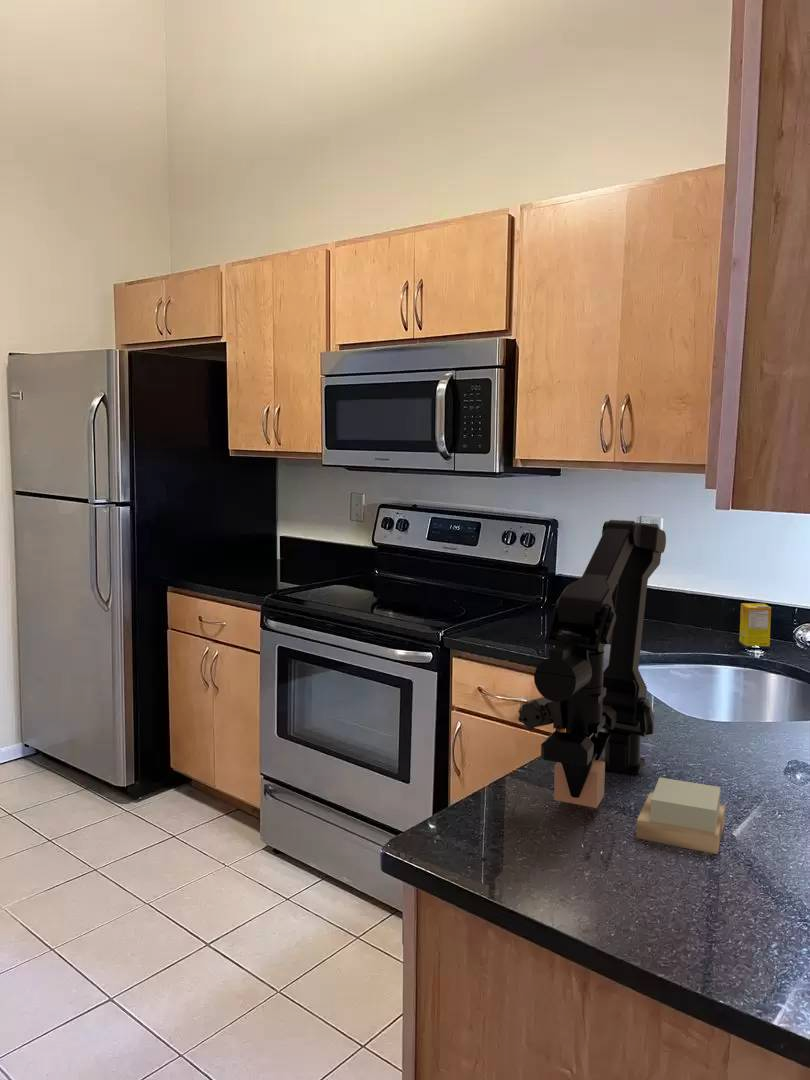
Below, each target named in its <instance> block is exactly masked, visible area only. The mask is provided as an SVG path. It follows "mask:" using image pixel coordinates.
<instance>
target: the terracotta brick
mask: <svg viewBox="0 0 810 1080" xmlns="http://www.w3.org/2000/svg"><path fill="white" fill-rule="evenodd" d="M605 771H606V769H605V762H604V761H600V760H599V761H598V760H595V761H594V763H593V765H592V768H591V770H590V772H589V775H588V777H587V780H586V782H585V785H584V787H583V789H582V792H581V794H580V796H579V798H575V797H572V796H571V795H570V791H569V787H568V783H567V780H566V776H565V773H564V769H563V766H562V764H561V763H559V762H555V764H554V775H553V776H554V780H553V781H554V784H553V788H554V789H553V790H554V791H553V800H554V801H559V802H564V803H569V804H575V805H579V806H585V807H590V808H595V809H597V808H598V807H599V805H600V803H601V802H602V800H603V798H604V796H605V781H606V780H605V778H606V777H605V775H606V773H605Z"/></svg>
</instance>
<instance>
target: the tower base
mask: <svg viewBox="0 0 810 1080" xmlns="http://www.w3.org/2000/svg"><path fill="white" fill-rule="evenodd" d="M653 792H654V791H650V792H649V794H648V796H647V798H646V800H645V802H644V803H643V806H642V808H641V810H640V812H639V815H638V817H637V818H636V834H635V835H636V836H635V837H636V838H637V839H639V840H645V841H648V842H649V841H650V842H654V843H659V844H665V845H669V846H675V847H680V848H685V849H688V850H694V851H699V852H704V853H708V854H715V855H718V853H719V847H720V844H721V839H722V835H723V831H724V826H725V822H726V821H725V820H726V805H725V804H721V803H720V810H719V815H718V821H717V826H716V832H715V833H711V832H706V831H700V830H695V829H689V828H684V827H678V826H673V825H667V824H662V823H656V822H651V821H650V808H651V797H652V795H653Z"/></svg>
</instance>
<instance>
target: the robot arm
mask: <svg viewBox="0 0 810 1080" xmlns="http://www.w3.org/2000/svg"><path fill="white" fill-rule="evenodd" d="M666 543H667V536H666V531H664V530H663V529H661V528H660V525H659V524H658V523H642V522H635V520H624V519H623V520H620V519H609V520H606V521H604V523H603V525H602V530H601V537H600V539H599V541H598V543H597V545H596V547H595V549H594V551H593V553H592V555H591V558H590V559H589V560H588V561H589V562H588V563H587V565H586V567H585V570H584V572H583V574H582V576H581V577H580V578H578V579H577V580H574V581H572V582H571V583H569V584H567V586H566V587H565V588H564V590H563V591H562V593H561V594H560V596H559V598H558V599H557V600H556V601H555V603H554V606H553V609H552V613H551V616H550V620H549V623H548V627H547V630H546V633H545V638H544V645H547V646H553V647H550V648H549V650H548V657H547V658H545V659H543V660H542V661H540V662H539V663H538V665H537V667H536V669H535V671H534V673H533V674H534V675H533V679H534V680H533V681H534V685H535V688H536V689H537V691H538V693H540V695H541V696H542V697H540V698H539V697H538V698H535V699H530V700H528V701H525V702H524V703H523V704H522V705H521V706H520V707H519V709H518V714H519V716H518V719H517V720H518V722H519V723H522V724H523V725H524V728H525V730H526V731H530V730H534V729H535V728H537V727H538V728H539V727H542V726H543V727H544V726H547V725H548V726H549V725H551V724H553V727H552V728H553V729H556V730H555V731H553V732H552V733H551V734H550V735H549V736H547V737H546V738H545V739H544V741H543V742H541V745H540V758H541V759H542V760H543V761H548V762H549V761H550V762H554V763H557V762H559V763H561V764H562V766H563V769H564V773H565V776H566V780H567V783H568V787H569V791H570V795H571V796H572V797H575V798H579V796H580V794H581V792H582V789H583V787H584V785H585V782H586V780H587V777H588V775H589V772H590V770H591V768H592V765H593V763H594V761H595V760H598V761H604V762H605V771H606V770H607V771H611V772H619V773H622V774H623V773H624V774H628V775H629V774H630V775H639V774H640V773H641V771H642V769H643V767H644V766H645V763H646V759H645V758H644V757H641V742H642V740H641V738H642V737H643V738H645V737H646V736H648V735H653V734H654V727H655V726H654V725H655V721H654V719H655V715H654V712H653V710H652V706H651V704H650V701H649V699H648V698H647V692H648V687H647V685H646V683H645V681H644V678H643V675H642V674H641V672H640V670H639V666H640V657H641V649H642V648H641V646H642V639H643V638H642V637H643V630H644V629H643V627H644V619H645V609H646V601H647V599H646V598H647V591H648V581H649V579H650V577H651V576H652V574H654V572H655V571H656V570H657V569H658V567H659V566H660V564H661V559H662V554H663V553H664V552H665V549H666ZM615 589H616V591H615ZM614 591H615V592H616V593H615V601H614V602H615V603H613V599H612V596H613V594H614ZM560 631H561V632H562V633H559V632H560ZM609 642H610V648H609V658H608V665H607V667H606V668H605V669H604V666H605V665H604V663H605V661H604V660H605V657H604V656H605V649H604V648H605V646H606V645H609ZM563 729H565V732H564V731H563V732H562V731H557V730H563ZM602 729H603V731H602ZM602 754H603V756H602Z"/></svg>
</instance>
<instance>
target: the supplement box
mask: <svg viewBox="0 0 810 1080" xmlns="http://www.w3.org/2000/svg"><path fill="white" fill-rule="evenodd" d="M739 615H740V616H739V619H740V621H739V622H740V623H739V639H738V640H739V641H738V643H739V645H740V646H742V647H743V648H744V649H746V650H750V649H749V648H751V647H752V646H755V645H757V646H759V647H760V648H761V649H760V650H770V649H771V648H770V645H771V644H770V643H771V622H772V621H771V620H772V619H771V618H772V606H769V605H768V604H766V603H759V602H757V603H751V602H749V603H746V602H743V603H742V602H741V603H740V614H739Z"/></svg>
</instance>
